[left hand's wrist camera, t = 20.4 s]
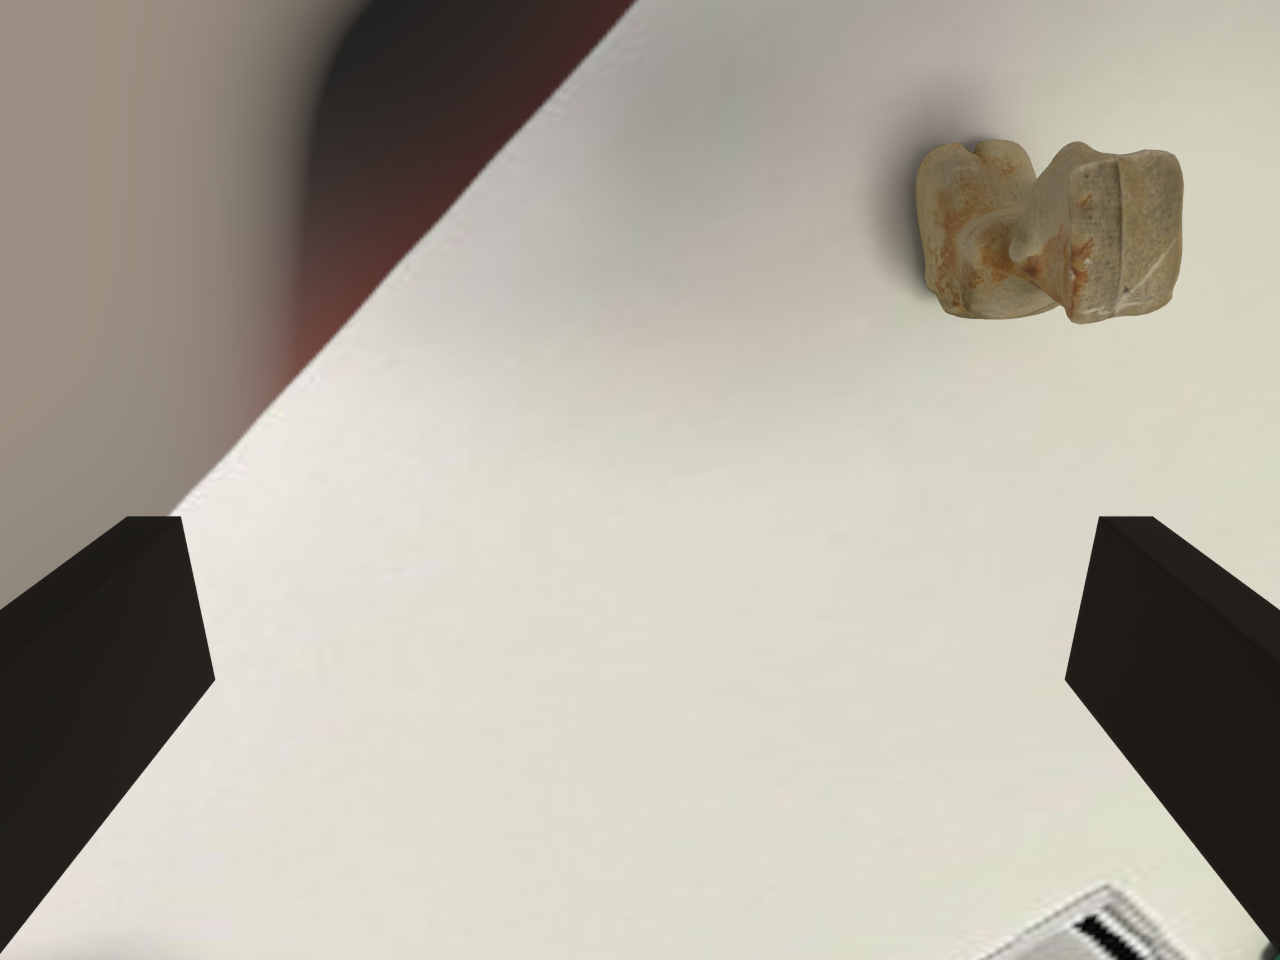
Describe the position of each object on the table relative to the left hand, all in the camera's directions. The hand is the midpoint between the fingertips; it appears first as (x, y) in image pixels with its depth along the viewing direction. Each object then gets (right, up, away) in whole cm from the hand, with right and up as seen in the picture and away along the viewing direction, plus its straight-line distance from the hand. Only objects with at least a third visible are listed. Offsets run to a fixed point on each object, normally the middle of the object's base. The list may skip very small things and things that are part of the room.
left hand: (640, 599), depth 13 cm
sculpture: (+15, +14, +28) cm, 34 cm away
